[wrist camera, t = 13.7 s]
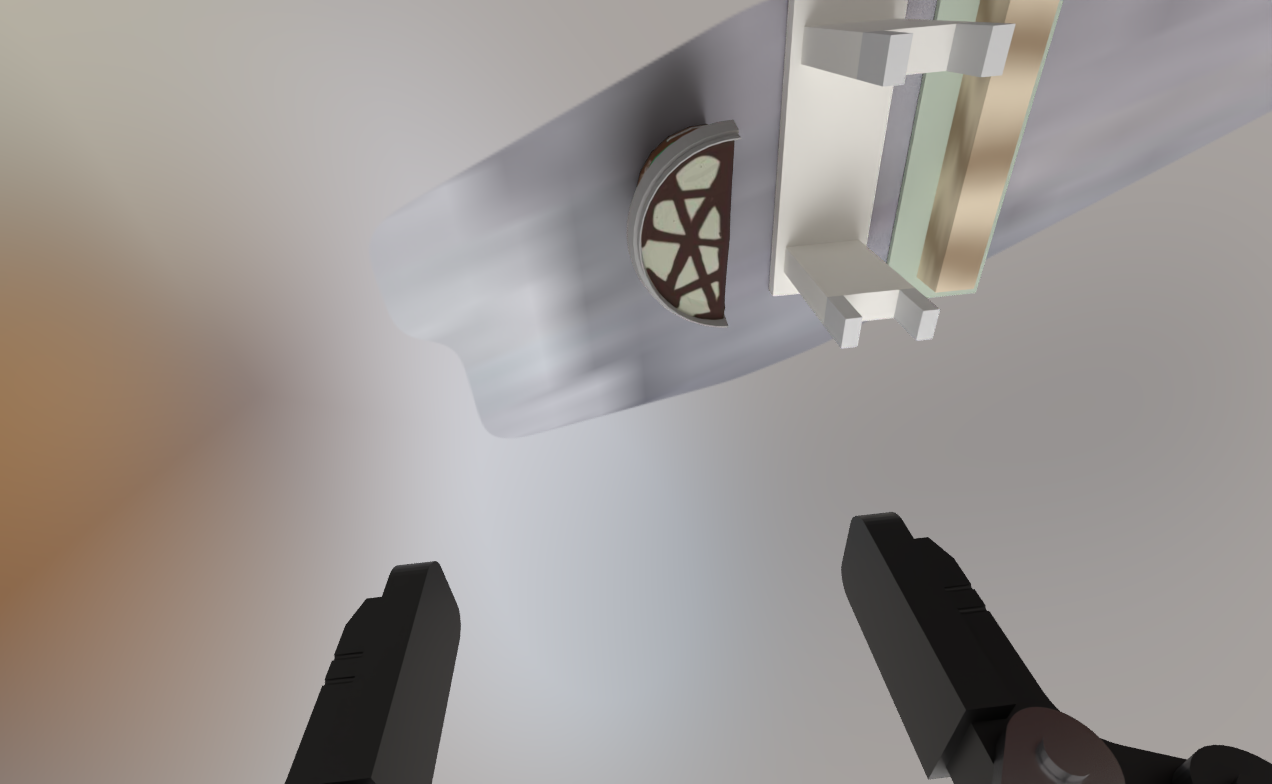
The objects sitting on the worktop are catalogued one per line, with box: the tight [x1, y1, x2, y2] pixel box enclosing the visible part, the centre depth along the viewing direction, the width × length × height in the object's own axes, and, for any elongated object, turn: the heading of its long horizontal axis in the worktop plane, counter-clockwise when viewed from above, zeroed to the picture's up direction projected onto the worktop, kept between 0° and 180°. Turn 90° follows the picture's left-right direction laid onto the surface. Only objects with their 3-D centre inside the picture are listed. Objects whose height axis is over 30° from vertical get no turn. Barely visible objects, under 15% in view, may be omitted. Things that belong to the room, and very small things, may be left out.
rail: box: [917, 0, 1059, 293], centre depth 38 cm, size 20×3×3 cm, turn 4°
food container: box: [627, 120, 741, 327], centre depth 36 cm, size 12×6×10 cm, turn 2°
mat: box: [887, 0, 1063, 298], centre depth 40 cm, size 24×8×1 cm, turn 4°
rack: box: [769, 0, 1015, 348], centre depth 35 cm, size 20×7×13 cm, turn 4°
